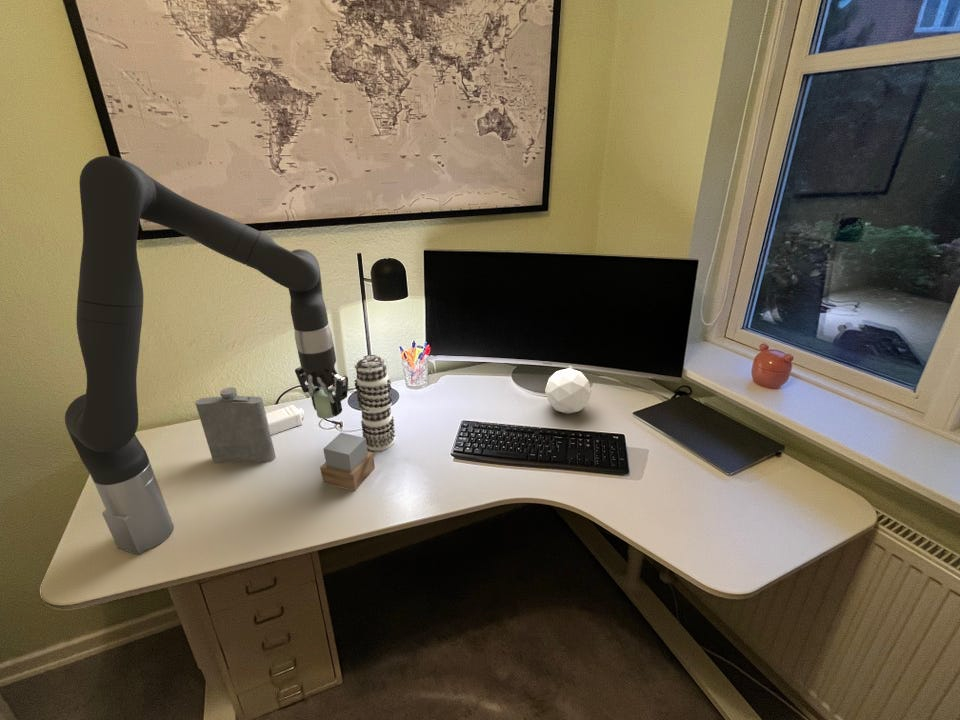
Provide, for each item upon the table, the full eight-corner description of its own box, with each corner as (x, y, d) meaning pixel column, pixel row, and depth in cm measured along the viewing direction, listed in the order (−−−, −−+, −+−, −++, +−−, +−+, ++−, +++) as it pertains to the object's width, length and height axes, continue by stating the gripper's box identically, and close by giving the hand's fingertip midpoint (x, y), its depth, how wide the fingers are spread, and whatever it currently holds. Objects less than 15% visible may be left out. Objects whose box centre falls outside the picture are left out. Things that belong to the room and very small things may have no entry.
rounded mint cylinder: (343, 409, 113) (340, 391, 110) (329, 420, 109) (325, 401, 106) (327, 405, 115) (324, 386, 112) (312, 415, 111) (308, 396, 108)
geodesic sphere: (542, 376, 153) (546, 356, 141) (585, 377, 153) (593, 357, 140) (543, 419, 147) (547, 402, 134) (589, 420, 146) (597, 403, 134)
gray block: (351, 472, 113) (348, 454, 111) (326, 465, 115) (323, 448, 113) (367, 454, 119) (365, 438, 116) (343, 449, 121) (340, 432, 119)
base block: (355, 491, 114) (353, 475, 112) (323, 483, 117) (320, 467, 114) (375, 468, 122) (373, 452, 119) (344, 461, 124) (341, 445, 122)
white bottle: (308, 424, 140) (306, 411, 138) (260, 440, 133) (257, 427, 131) (300, 414, 145) (298, 401, 143) (253, 429, 138) (250, 416, 136)
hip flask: (210, 463, 124) (189, 395, 115) (218, 453, 127) (198, 387, 119) (273, 462, 124) (257, 394, 115) (278, 452, 128) (263, 386, 119)
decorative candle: (355, 448, 129) (343, 364, 118) (373, 429, 137) (363, 349, 126) (386, 454, 126) (376, 369, 116) (402, 435, 134) (395, 354, 123)
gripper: (352, 343, 104) (363, 410, 111) (303, 333, 110) (316, 397, 118) (328, 358, 98) (340, 427, 106) (277, 345, 104) (293, 412, 112)
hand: (328, 411), depth 111 cm, fingers closed on rounded mint cylinder, 5 cm apart
